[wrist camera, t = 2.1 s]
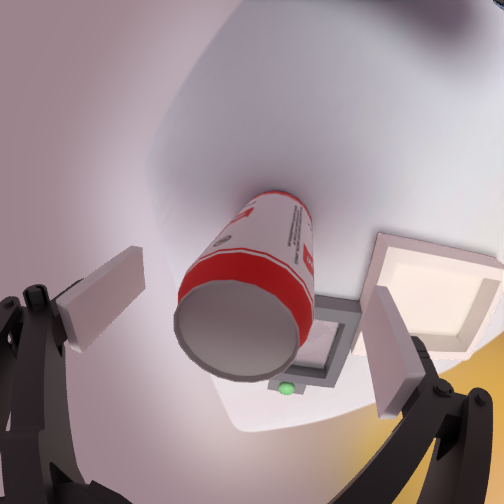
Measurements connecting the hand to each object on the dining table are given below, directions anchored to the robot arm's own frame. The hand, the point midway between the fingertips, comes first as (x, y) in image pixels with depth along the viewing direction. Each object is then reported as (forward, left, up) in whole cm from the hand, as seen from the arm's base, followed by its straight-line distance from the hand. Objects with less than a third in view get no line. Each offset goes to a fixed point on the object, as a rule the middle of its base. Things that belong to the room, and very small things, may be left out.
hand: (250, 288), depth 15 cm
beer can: (0, 0, -12) cm, 12 cm away
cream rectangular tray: (+5, +17, -11) cm, 21 cm away
